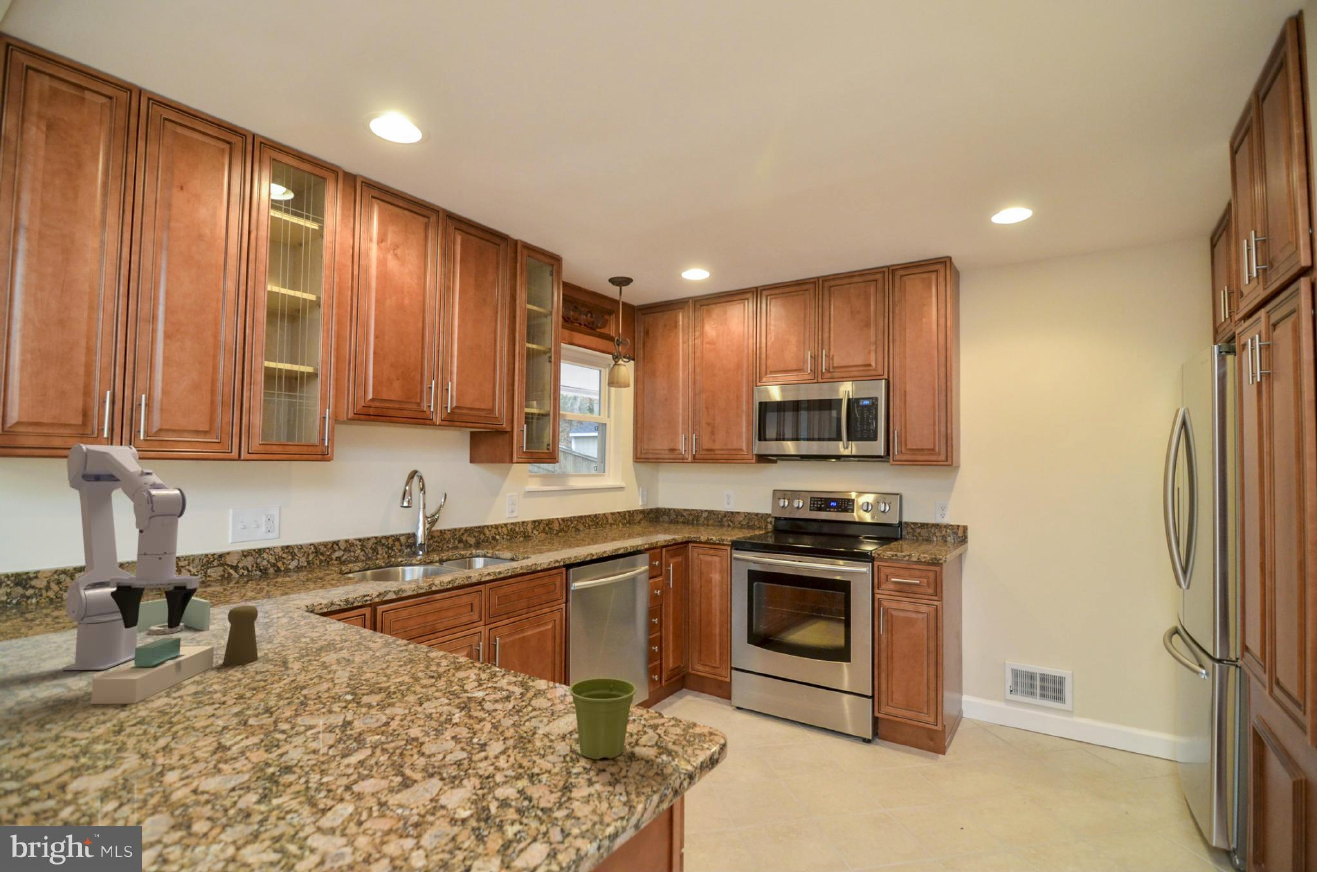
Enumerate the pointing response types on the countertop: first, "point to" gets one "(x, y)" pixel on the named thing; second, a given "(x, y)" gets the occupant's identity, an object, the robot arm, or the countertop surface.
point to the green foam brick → (157, 652)
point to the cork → (241, 636)
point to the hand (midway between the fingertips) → (152, 627)
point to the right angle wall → (156, 616)
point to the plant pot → (602, 715)
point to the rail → (150, 677)
